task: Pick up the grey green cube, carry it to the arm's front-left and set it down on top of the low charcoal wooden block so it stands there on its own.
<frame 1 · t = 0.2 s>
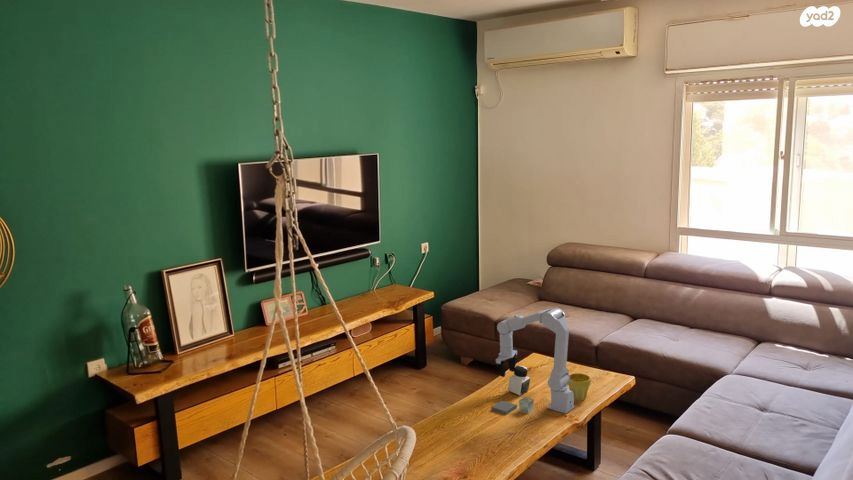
hand: (507, 373, 301), 10 cm above the table, fingers open, 7 cm apart
grey green cube: (526, 411, 285), on the table
medicine bottle: (517, 391, 305), on the table
plant pot: (578, 398, 296), on the table
block: (504, 410, 288), on the table
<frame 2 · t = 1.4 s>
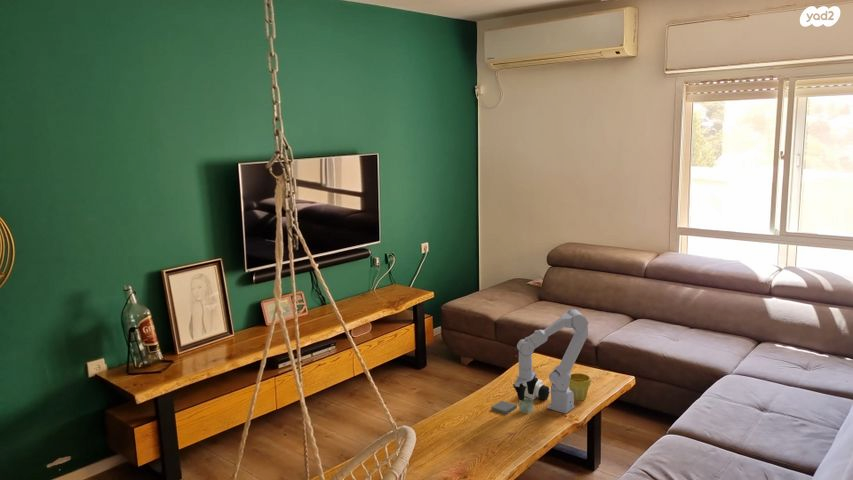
hand: (526, 396, 284), 6 cm above the table, fingers open, 7 cm apart
medicine bottle: (524, 385, 302), point 4 cm above the table
everything else where it was.
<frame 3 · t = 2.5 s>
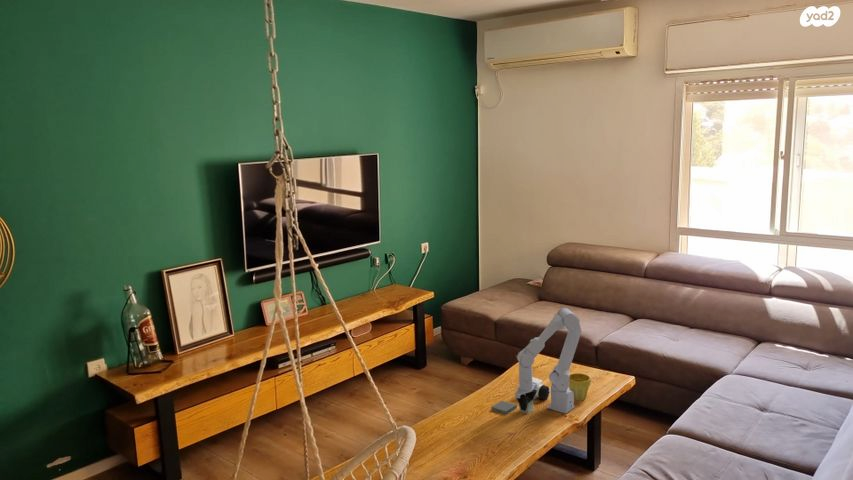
hand: (526, 407, 285), 1 cm above the table, fingers closed on grey green cube, 4 cm apart
grey green cube: (526, 410, 285), on the table, touching gripper
everything else where it was.
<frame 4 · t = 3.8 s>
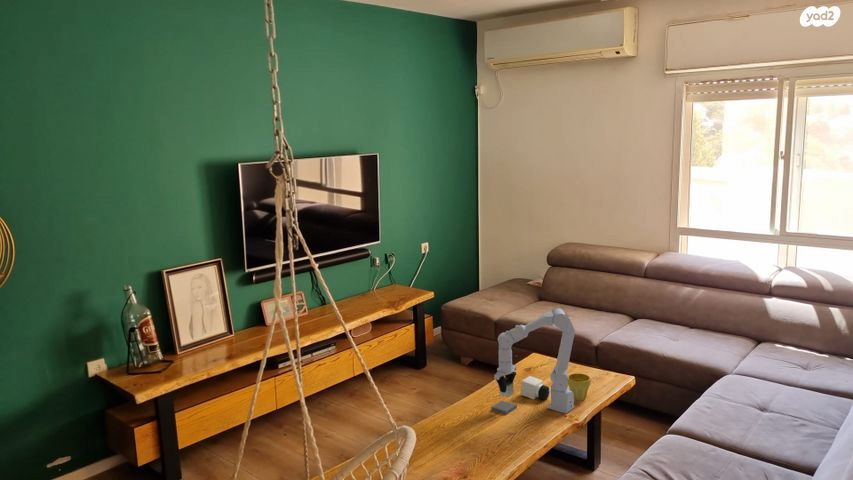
hand: (506, 389, 286), 9 cm above the table, fingers closed on grey green cube, 4 cm apart
grey green cube: (506, 394, 286), point 7 cm above the table, touching gripper
everything else where it was.
when the fingers open (4 cm above the table, at t = 5.2 s): grey green cube drops 1 cm, point 1 cm above the table.
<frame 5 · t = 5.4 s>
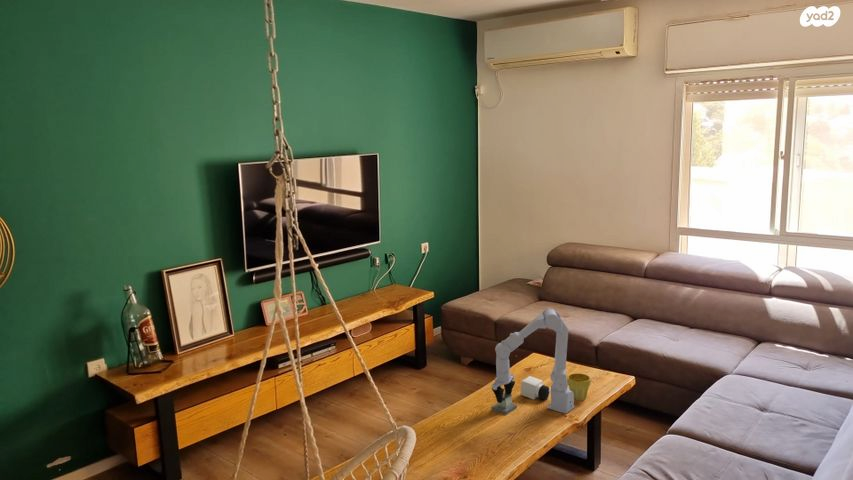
hand: (503, 399, 287), 4 cm above the table, fingers open, 6 cm apart
grey green cube: (504, 406, 287), point 1 cm above the table
everything else where it was.
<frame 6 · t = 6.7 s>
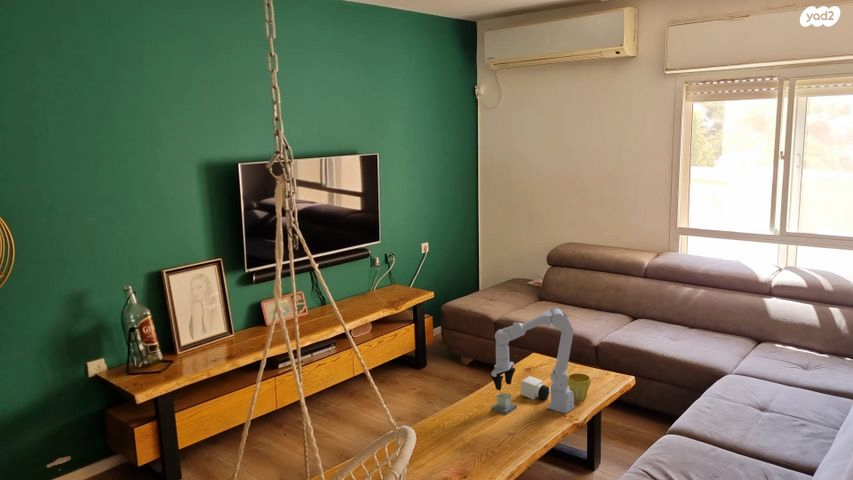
hand: (503, 386, 286), 10 cm above the table, fingers open, 7 cm apart
nothing on the table moved.
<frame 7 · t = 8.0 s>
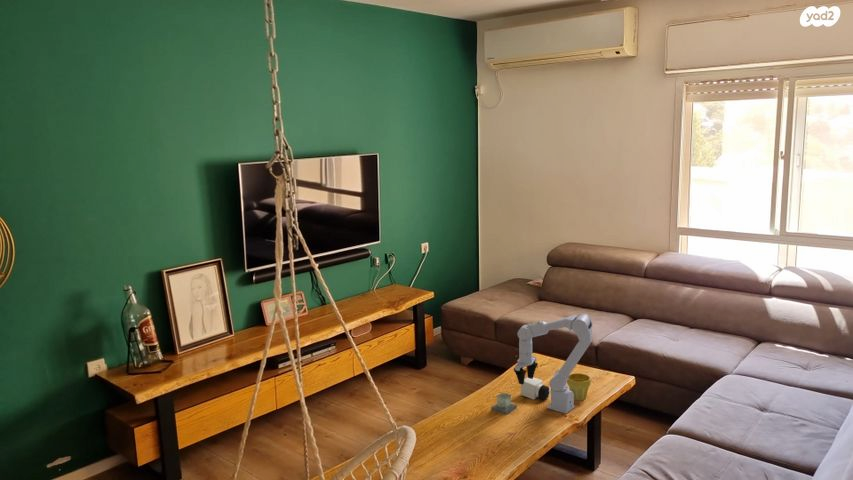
hand: (525, 381, 291), 10 cm above the table, fingers open, 7 cm apart
grey green cube: (504, 406, 287), point 1 cm above the table, touching block
block: (504, 410, 288), on the table, touching grey green cube
everything else where it was.
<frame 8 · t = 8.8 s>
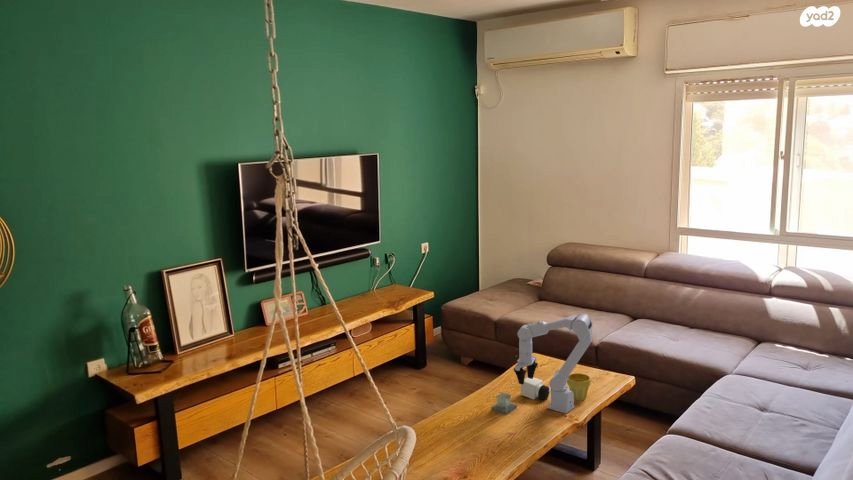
hand: (525, 381, 291), 10 cm above the table, fingers open, 7 cm apart
nothing on the table moved.
at the end: grey green cube 0.1 cm off-centre on the block, point 2.0 cm above the block's base; grey green cube tilted 1°; grey green cube touching block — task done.
